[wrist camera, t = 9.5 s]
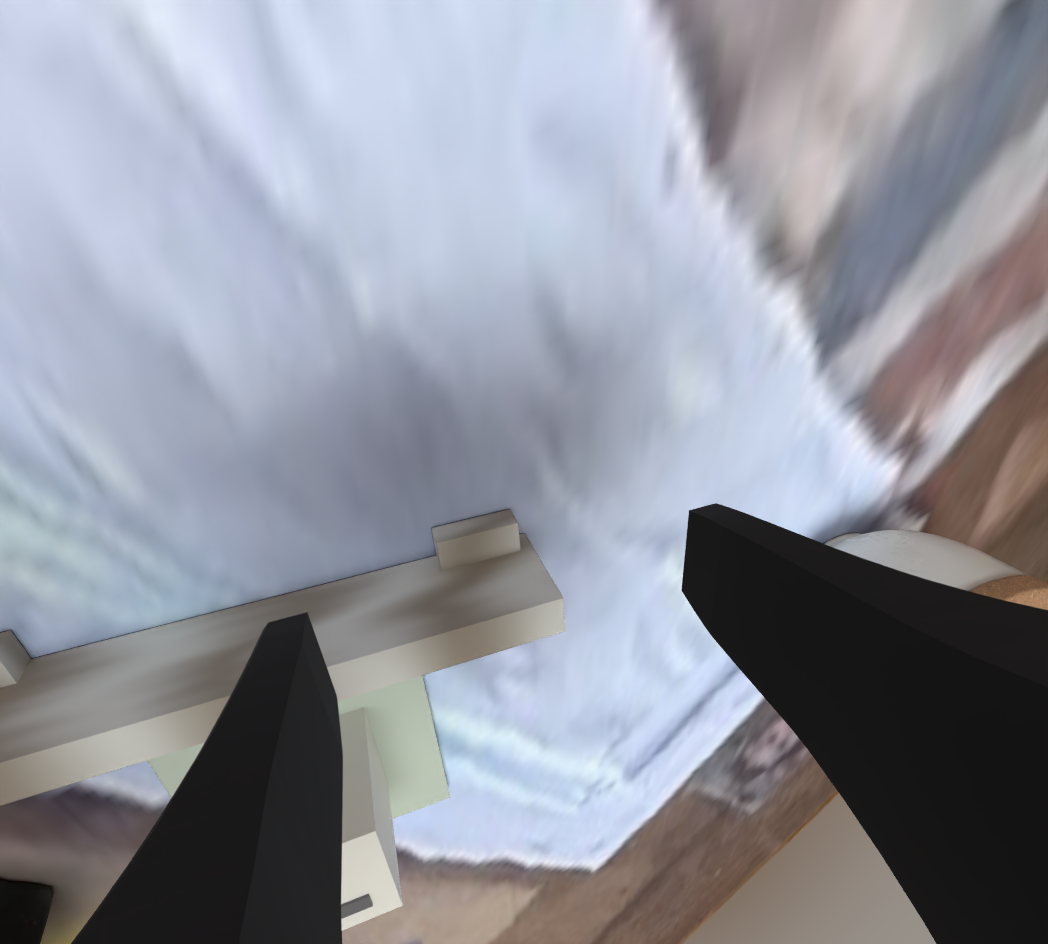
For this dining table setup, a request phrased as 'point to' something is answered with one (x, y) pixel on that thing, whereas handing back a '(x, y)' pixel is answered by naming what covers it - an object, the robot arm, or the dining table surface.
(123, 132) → the dining table surface
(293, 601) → the beige wooden bar
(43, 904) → the ceramic cat
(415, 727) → the pad
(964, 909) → the robot arm
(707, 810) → the dining table surface
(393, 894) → the marked cube
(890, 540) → the lidded jar
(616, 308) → the dining table surface
